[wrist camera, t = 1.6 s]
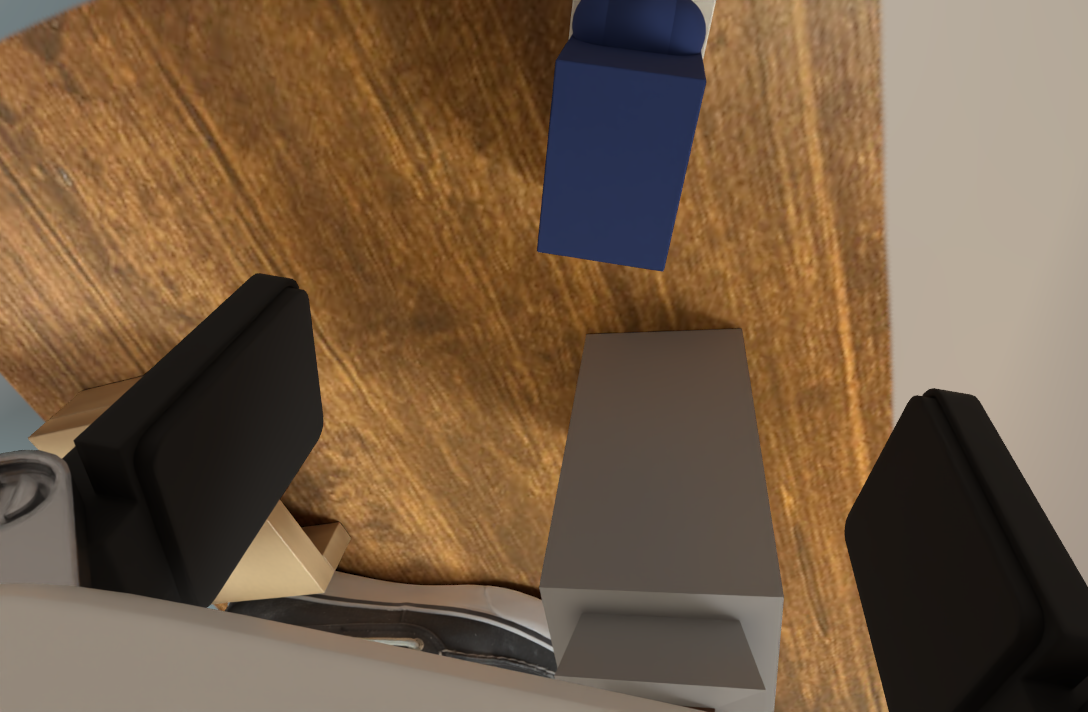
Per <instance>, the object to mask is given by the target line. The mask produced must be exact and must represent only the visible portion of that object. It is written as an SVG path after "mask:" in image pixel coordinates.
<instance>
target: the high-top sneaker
mask: <svg viewBox="0 0 1088 712" xmlns="http://www.w3.org/2000/svg"><path fill="white" fill-rule="evenodd" d="M715 3H716V0H573V3H572V13H571V22H570V31H569V40H568V42H567V43H566V45H565V47H564V48H563V50H562V51H561V53H560V54H559V56H558V58H557V59H556V62H555V72H554V82H553V93H552V103H551V113H550V123H549V133H548V144H547V154H546V164H545V174H544V184H543V194H542V205H541V215H540V225H539V235H538V245H537V251H538V252H542V253H548V254H555V255H561V256H568V257H574V258H580V259H587V260H593V261H599V262H606V263H612V264H618V265H625V266H631V267H638V268H644V269H650V270H657V271H663V270H664V268H665V263H666V259H667V254H668V250H669V245H670V241H671V236H672V232H673V228H674V223H675V219H676V214H677V210H678V205H679V201H680V196H681V192H682V188H683V183H684V179H685V174H686V170H687V165H688V161H689V156H690V152H691V147H692V143H693V139H694V134H695V130H696V125H697V121H698V116H699V112H700V107H701V103H702V99H703V94H704V90H705V85H706V77H705V71H704V65H703V58H704V53H705V49H706V44H707V40H708V35H709V30H710V26H711V21H712V17H713V12H714V8H715Z"/></svg>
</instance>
